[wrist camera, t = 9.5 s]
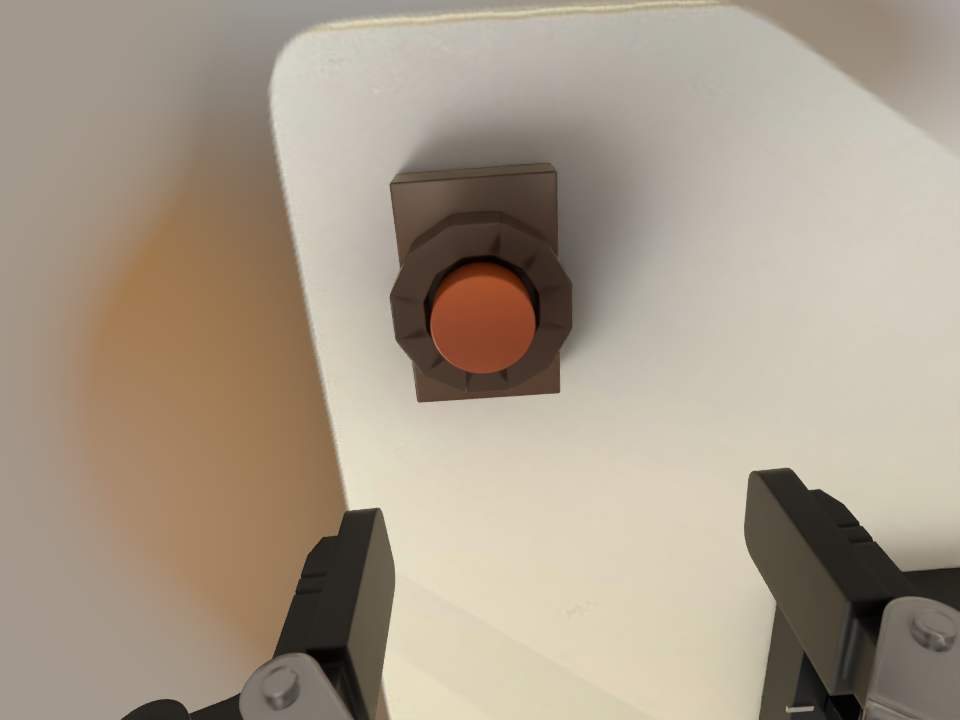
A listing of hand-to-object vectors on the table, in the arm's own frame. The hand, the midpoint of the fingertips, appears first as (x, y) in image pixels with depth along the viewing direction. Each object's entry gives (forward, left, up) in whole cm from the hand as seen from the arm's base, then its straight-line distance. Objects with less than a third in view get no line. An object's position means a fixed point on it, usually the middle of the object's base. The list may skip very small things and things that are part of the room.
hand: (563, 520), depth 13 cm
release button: (0, -2, -10) cm, 11 cm away
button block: (0, -2, -14) cm, 14 cm away
